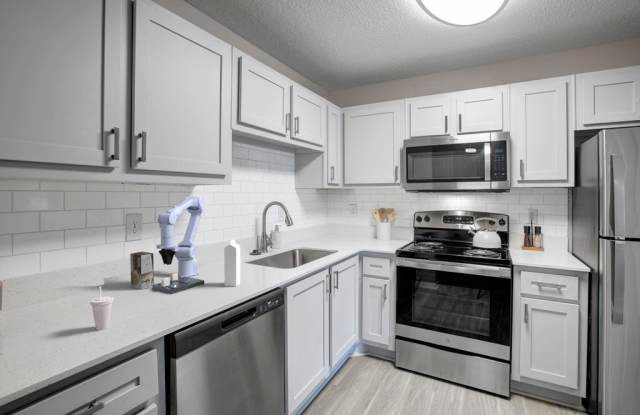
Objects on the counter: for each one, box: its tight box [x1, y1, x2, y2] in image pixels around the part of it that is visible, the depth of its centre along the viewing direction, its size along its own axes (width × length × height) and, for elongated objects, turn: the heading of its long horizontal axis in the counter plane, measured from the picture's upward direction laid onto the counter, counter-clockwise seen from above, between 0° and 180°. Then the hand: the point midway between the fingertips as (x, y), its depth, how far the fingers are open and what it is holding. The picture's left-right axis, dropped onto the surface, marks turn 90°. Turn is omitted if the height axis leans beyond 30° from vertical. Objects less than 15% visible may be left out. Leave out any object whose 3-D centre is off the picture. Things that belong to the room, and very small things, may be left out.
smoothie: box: [90, 285, 114, 331], centre depth 107 cm, size 6×6×14 cm
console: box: [151, 276, 205, 295], centre depth 154 cm, size 18×14×3 cm
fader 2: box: [169, 272, 179, 281], centre depth 157 cm, size 3×2×3 cm, turn 150°
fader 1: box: [161, 277, 170, 287], centre depth 148 cm, size 3×2×3 cm, turn 150°
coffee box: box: [129, 251, 155, 290], centre depth 154 cm, size 9×6×16 cm
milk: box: [223, 239, 241, 287], centre depth 158 cm, size 6×6×22 cm
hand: (167, 264), depth 160 cm, fingers closed
